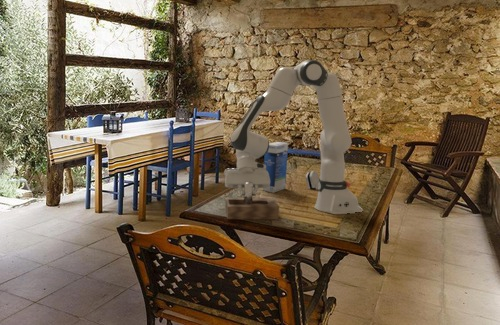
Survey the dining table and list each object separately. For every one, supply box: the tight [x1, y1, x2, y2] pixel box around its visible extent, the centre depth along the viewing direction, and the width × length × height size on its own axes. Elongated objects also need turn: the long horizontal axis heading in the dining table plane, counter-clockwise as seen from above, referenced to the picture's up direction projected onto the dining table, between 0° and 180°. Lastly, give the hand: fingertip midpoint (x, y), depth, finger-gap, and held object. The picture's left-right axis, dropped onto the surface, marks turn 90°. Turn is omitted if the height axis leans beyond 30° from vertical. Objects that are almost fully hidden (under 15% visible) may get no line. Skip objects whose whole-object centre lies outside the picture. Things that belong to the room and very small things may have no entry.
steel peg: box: [243, 182, 254, 205], centre depth 188 cm, size 6×6×12 cm
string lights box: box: [262, 141, 289, 194], centre depth 234 cm, size 13×8×26 cm, turn 146°
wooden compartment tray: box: [224, 197, 280, 220], centre depth 189 cm, size 22×14×6 cm, turn 97°
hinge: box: [305, 170, 320, 191], centre depth 248 cm, size 17×5×10 cm, turn 159°
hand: (248, 195), depth 187 cm, fingers closed on steel peg, 4 cm apart
